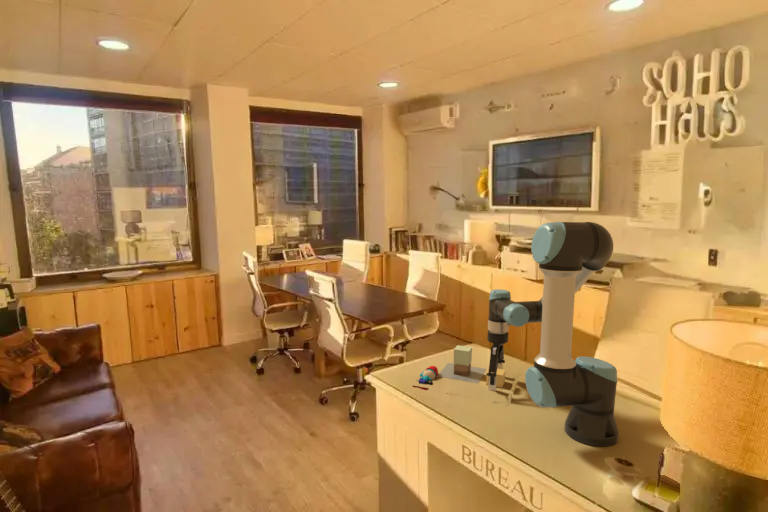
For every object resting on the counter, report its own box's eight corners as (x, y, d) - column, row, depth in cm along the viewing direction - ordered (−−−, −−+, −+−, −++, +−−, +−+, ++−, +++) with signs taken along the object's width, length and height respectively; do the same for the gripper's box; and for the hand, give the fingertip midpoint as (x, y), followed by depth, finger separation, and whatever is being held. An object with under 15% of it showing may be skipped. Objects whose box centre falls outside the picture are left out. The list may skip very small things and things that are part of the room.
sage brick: (468, 366, 187) (469, 351, 186) (453, 363, 189) (454, 349, 188) (471, 361, 192) (472, 347, 191) (456, 359, 194) (457, 345, 193)
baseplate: (477, 386, 181) (478, 383, 181) (437, 379, 187) (437, 376, 187) (486, 371, 196) (486, 368, 195) (447, 365, 202) (447, 362, 201)
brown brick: (467, 376, 187) (467, 366, 187) (453, 374, 189) (454, 364, 189) (470, 371, 193) (471, 361, 192) (457, 368, 195) (457, 359, 194)
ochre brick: (502, 390, 177) (502, 375, 177) (485, 388, 180) (486, 372, 179) (504, 384, 183) (505, 369, 182) (488, 382, 185) (489, 367, 184)
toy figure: (429, 395, 177) (444, 374, 189) (427, 383, 176) (442, 363, 188) (410, 392, 181) (426, 372, 193) (409, 380, 179) (425, 361, 192)
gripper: (503, 342, 166) (499, 400, 169) (513, 323, 188) (510, 375, 191) (481, 339, 168) (478, 396, 171) (493, 321, 191) (491, 372, 194)
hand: (495, 385), depth 181 cm, fingers open, 13 cm apart
